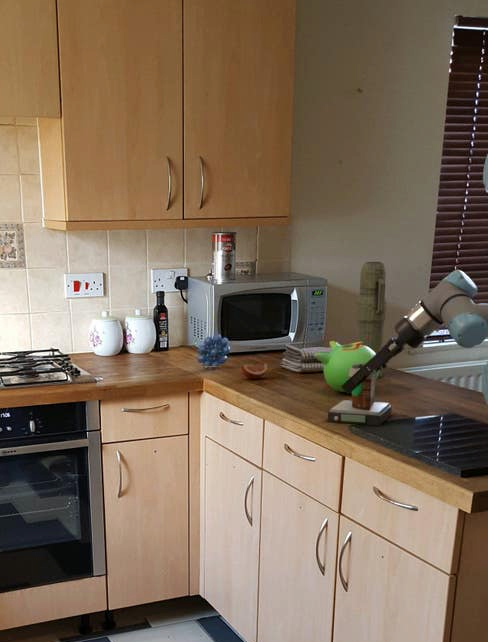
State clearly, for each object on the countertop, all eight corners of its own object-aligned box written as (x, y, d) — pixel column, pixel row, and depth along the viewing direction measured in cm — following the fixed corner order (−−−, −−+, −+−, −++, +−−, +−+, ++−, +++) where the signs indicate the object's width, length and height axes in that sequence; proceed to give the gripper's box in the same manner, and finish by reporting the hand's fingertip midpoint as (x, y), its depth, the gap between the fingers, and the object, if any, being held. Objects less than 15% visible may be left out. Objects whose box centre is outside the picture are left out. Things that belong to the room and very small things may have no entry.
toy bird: (370, 399, 244) (373, 346, 240) (311, 396, 251) (313, 344, 246) (384, 388, 260) (386, 337, 255) (328, 385, 267) (329, 336, 262)
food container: (350, 401, 227) (352, 362, 224) (374, 401, 225) (376, 362, 222) (344, 410, 216) (345, 370, 213) (369, 411, 214) (371, 370, 211)
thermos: (368, 379, 273) (374, 263, 262) (345, 374, 283) (350, 262, 272) (391, 377, 277) (397, 261, 265) (367, 372, 287) (373, 261, 276)
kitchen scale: (378, 426, 213) (379, 413, 212) (326, 422, 219) (327, 409, 218) (391, 415, 224) (391, 402, 223) (341, 411, 230) (342, 399, 229)
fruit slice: (263, 376, 285) (263, 361, 283) (271, 379, 279) (271, 364, 277) (239, 378, 283) (239, 362, 281) (246, 381, 277) (246, 365, 275)
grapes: (227, 366, 307) (227, 331, 303) (232, 369, 300) (232, 334, 296) (194, 368, 305) (194, 333, 301) (199, 371, 298) (198, 335, 294)
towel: (301, 374, 286) (301, 350, 284) (279, 366, 303) (279, 343, 300) (343, 371, 290) (344, 347, 287) (319, 363, 307) (320, 341, 304)
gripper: (417, 344, 198) (349, 406, 209) (436, 331, 219) (374, 388, 230) (394, 320, 198) (328, 382, 210) (416, 309, 219) (355, 367, 231)
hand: (352, 385), depth 220 cm, fingers open, 13 cm apart
